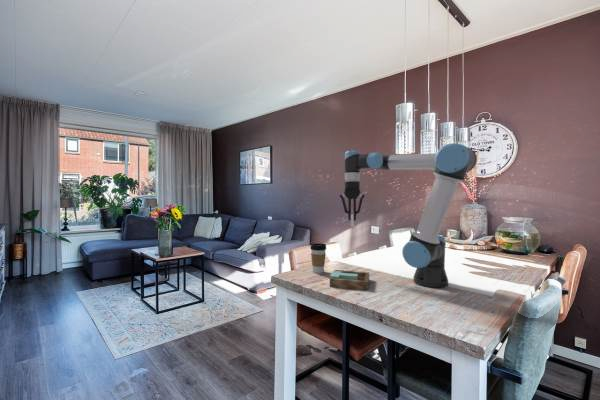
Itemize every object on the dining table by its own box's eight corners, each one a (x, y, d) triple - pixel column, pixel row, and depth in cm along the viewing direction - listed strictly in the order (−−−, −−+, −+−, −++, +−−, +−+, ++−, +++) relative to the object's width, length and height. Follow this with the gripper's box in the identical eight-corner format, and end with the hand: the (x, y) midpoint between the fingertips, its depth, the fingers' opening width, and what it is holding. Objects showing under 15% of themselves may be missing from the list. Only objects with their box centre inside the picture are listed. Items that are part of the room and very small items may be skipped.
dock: (369, 279, 149) (369, 272, 148) (367, 290, 133) (367, 282, 133) (335, 276, 153) (335, 269, 153) (329, 286, 138) (329, 278, 137)
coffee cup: (325, 274, 156) (325, 245, 156) (308, 273, 158) (309, 245, 158) (326, 270, 165) (327, 242, 164) (311, 269, 166) (311, 242, 166)
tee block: (358, 280, 147) (358, 272, 147) (356, 287, 137) (356, 278, 137) (333, 278, 150) (333, 270, 150) (330, 284, 141) (330, 276, 140)
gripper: (365, 181, 159) (365, 226, 159) (340, 181, 162) (340, 225, 162) (365, 180, 152) (365, 227, 152) (338, 181, 154) (339, 227, 155)
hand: (352, 226), depth 157 cm, fingers closed
